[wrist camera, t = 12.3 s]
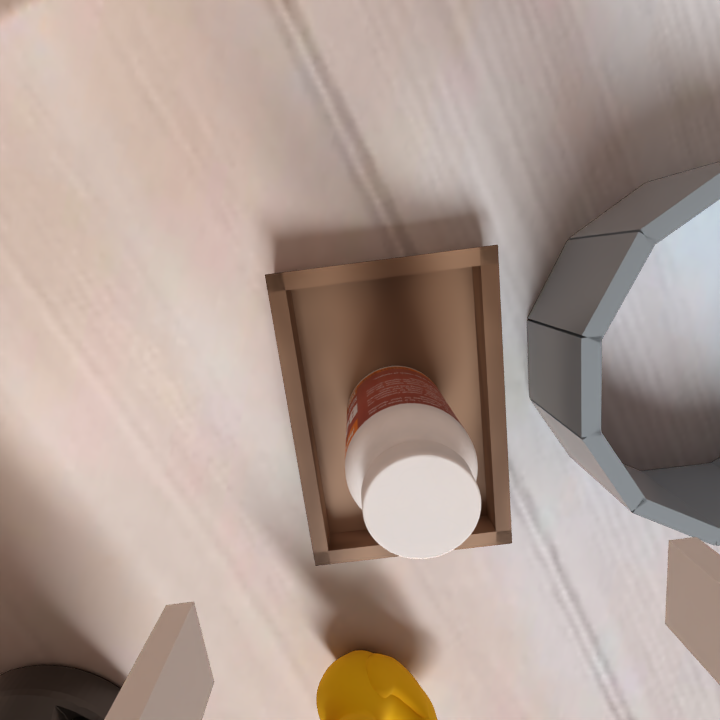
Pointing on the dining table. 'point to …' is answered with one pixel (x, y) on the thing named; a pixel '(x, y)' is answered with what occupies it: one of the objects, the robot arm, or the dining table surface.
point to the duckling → (371, 690)
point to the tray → (382, 349)
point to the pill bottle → (410, 464)
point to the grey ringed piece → (584, 348)
